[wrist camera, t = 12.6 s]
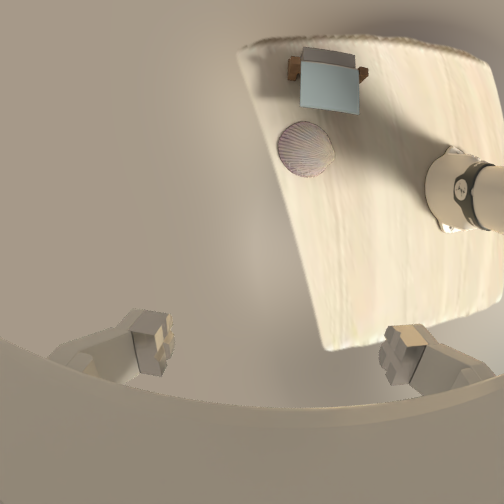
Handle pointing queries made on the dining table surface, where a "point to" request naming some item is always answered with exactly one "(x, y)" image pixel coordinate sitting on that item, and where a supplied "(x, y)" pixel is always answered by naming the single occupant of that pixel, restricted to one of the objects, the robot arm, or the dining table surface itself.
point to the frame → (295, 69)
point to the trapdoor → (329, 81)
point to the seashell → (305, 149)
